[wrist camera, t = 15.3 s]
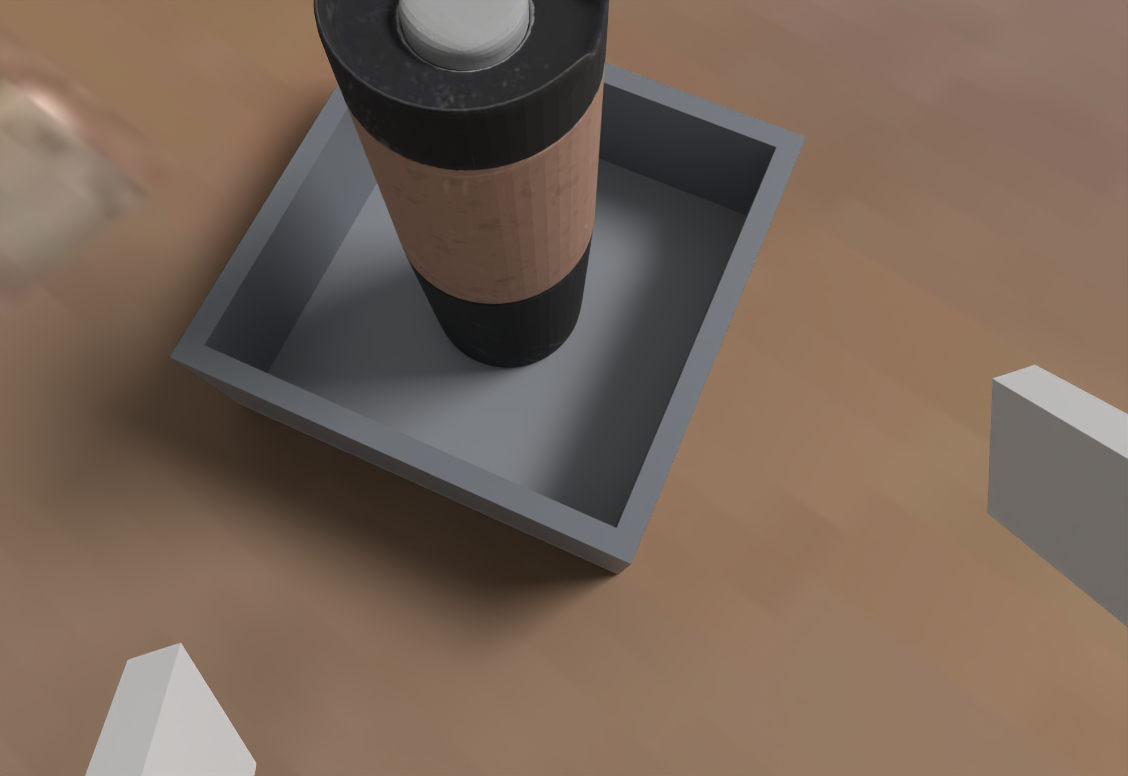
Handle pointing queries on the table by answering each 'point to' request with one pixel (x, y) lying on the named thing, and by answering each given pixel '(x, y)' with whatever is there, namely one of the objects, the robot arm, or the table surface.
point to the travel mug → (482, 154)
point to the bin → (494, 394)
